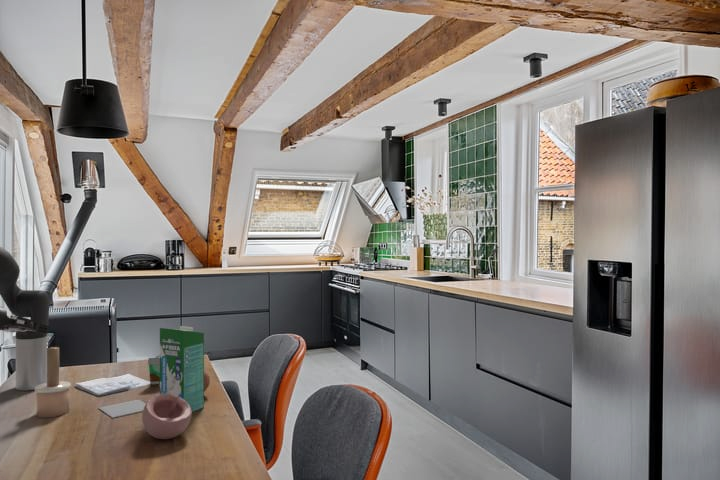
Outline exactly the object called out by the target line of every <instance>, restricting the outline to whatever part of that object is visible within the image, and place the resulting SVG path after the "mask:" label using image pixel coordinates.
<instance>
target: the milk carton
mask: <svg viewBox="0 0 720 480" xmlns="http://www.w3.org/2000/svg"><path fill="white" fill-rule="evenodd" d="M204 333H205V332H201V331H200V332H199V331H194V327H192V326H183V325H180V326H179V329H176V328H168V327H159V356H160V386H159V394H172V395H176V396H179V397H181V398H182V399H184V400H185V401H186V402H187V403H188V404H189V405H190V407H191V410H192V413H193V412H196V411H198V410H200V409H203V408H204V407H205V391H204V371H205V334H204Z"/></svg>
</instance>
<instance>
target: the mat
mask: <svg viewBox="0 0 720 480" xmlns="http://www.w3.org/2000/svg"><path fill="white" fill-rule="evenodd" d="M146 403H147V402H144V401H143V400H140V399H135V400H129V401H124V402H121V403H114V404H111V405H110V404H109V405H104V406H101V407H98V409H99V410H100V411H101V412H103V413H105V414H106V415H107V416H108V417H110V418H111V419H117V418H119V417H125V416H129V415H133V414H138V413H143V409H144V407H145V405H146Z"/></svg>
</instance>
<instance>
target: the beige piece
mask: <svg viewBox="0 0 720 480" xmlns="http://www.w3.org/2000/svg"><path fill="white" fill-rule="evenodd" d="M71 387H72V383H71V382H69V381H65V380H64V381H61V380H60V347H59V346H51V347H47V383H44V384H40V385H37V386H36V387H35V389H34V392H35V393H56V392H61V391H65V390H68V389H69V390H70V389H71Z"/></svg>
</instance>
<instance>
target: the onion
mask: <svg viewBox="0 0 720 480" xmlns="http://www.w3.org/2000/svg"><path fill="white" fill-rule="evenodd" d="M210 382H211V379H210V375H209V373H208V372H207V371H206V370H204V392H206V391H207V389H208V388H209V386H210V384H211V383H210Z"/></svg>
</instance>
